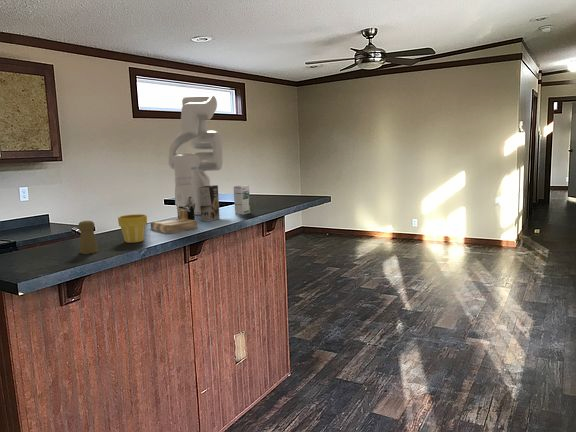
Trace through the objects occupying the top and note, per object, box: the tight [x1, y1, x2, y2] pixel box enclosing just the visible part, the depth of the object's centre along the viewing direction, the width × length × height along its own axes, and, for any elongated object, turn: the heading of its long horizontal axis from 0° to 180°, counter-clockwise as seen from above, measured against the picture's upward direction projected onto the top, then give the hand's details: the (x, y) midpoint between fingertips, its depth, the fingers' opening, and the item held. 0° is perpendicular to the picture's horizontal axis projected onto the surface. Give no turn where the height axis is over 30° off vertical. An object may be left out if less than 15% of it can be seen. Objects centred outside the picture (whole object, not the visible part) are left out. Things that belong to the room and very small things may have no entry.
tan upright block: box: [177, 207, 188, 219], centre depth 220 cm, size 5×5×7 cm
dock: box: [150, 218, 199, 234], centre depth 207 cm, size 16×14×3 cm
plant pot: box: [117, 213, 148, 244], centre depth 183 cm, size 10×10×10 cm
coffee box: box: [199, 185, 221, 222], centre depth 228 cm, size 9×6×16 cm
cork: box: [77, 220, 99, 255], centre depth 166 cm, size 6×6×11 cm
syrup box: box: [233, 184, 251, 215], centre depth 244 cm, size 6×6×14 cm
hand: (186, 218), depth 221 cm, fingers open, 8 cm apart
